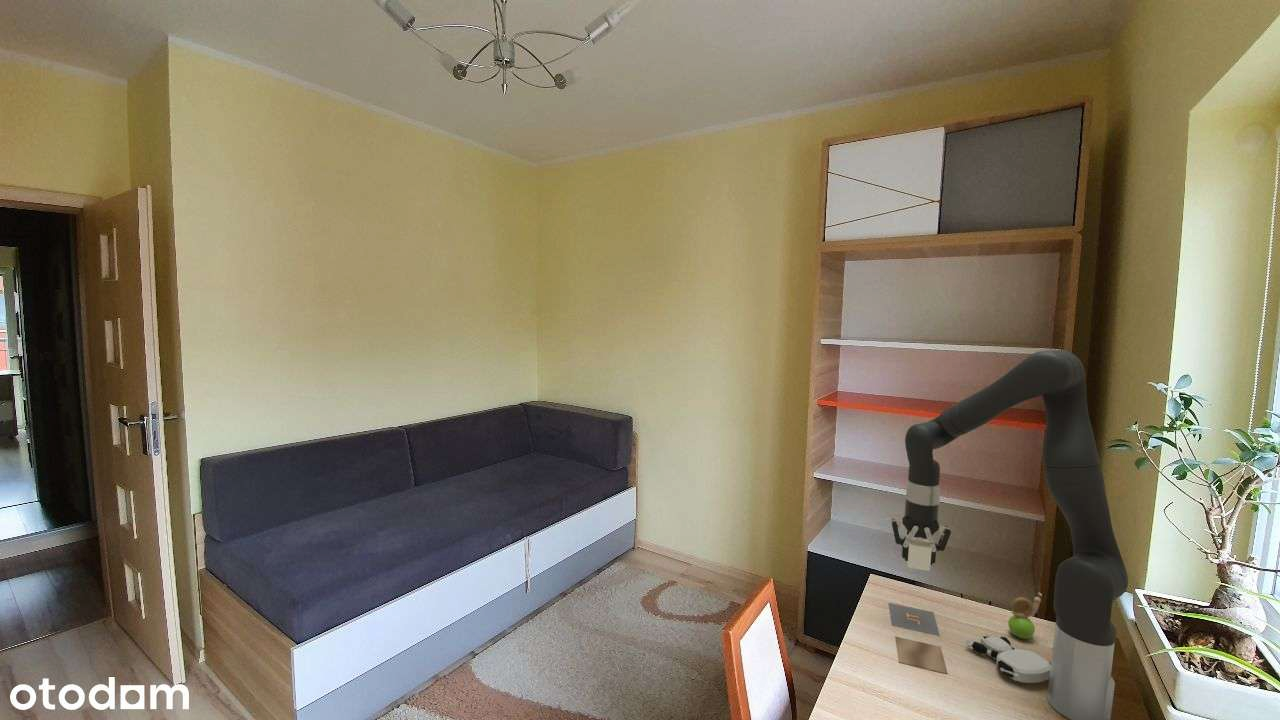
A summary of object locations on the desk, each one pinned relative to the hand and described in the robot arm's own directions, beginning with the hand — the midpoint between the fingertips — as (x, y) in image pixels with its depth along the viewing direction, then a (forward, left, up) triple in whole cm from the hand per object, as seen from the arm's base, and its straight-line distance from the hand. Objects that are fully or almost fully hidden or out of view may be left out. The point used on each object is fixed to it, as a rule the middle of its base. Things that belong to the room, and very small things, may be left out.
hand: (917, 561), depth 136 cm
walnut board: (0, +15, -16) cm, 22 cm away
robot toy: (-19, +11, -17) cm, 27 cm away
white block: (0, 0, -1) cm, 1 cm away
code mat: (0, 0, -16) cm, 16 cm away
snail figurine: (-25, -3, -17) cm, 30 cm away
